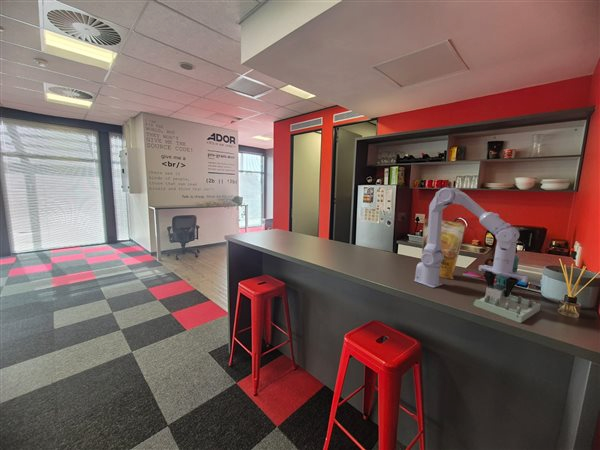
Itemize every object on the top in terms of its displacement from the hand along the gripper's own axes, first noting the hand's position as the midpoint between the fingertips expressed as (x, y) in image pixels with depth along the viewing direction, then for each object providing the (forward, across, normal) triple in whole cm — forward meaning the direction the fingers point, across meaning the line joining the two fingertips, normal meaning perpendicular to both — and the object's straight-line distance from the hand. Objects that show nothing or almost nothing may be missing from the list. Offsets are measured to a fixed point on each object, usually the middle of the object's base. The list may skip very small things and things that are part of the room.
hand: (498, 293), depth 95 cm
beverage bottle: (+5, -4, +18) cm, 19 cm away
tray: (+4, +3, 0) cm, 5 cm away
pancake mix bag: (+5, -31, +13) cm, 34 cm away
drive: (+3, 0, 0) cm, 3 cm away
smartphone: (+5, -17, +29) cm, 34 cm away
